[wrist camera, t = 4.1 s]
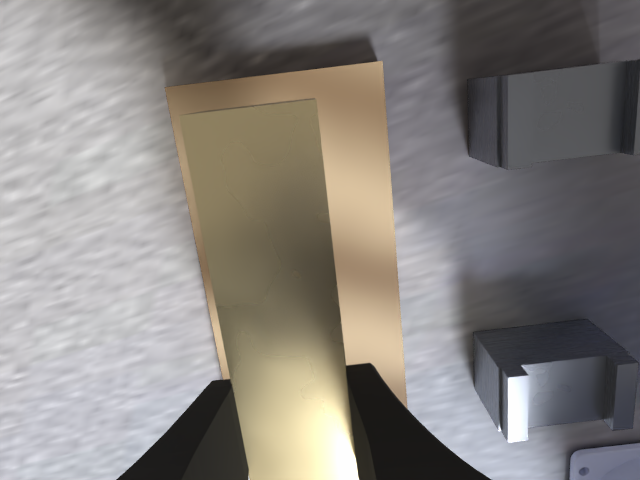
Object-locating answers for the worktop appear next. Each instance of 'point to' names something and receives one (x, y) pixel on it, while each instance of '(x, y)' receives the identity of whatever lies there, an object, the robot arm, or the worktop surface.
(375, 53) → the worktop surface
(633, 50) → the worktop surface
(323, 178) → the rail
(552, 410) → the post
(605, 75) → the post
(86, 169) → the worktop surface
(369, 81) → the board
